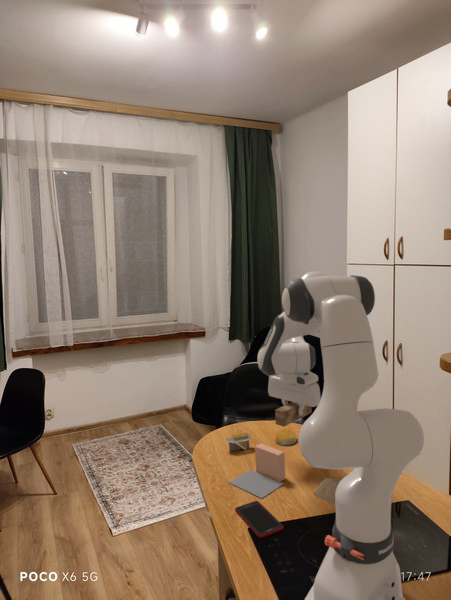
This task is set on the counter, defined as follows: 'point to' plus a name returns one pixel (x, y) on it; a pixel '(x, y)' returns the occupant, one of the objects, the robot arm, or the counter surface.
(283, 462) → the tile
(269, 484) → the mat
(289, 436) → the bread roll
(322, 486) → the clay tablet
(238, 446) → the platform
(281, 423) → the bar
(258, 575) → the counter surface
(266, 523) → the cell phone
